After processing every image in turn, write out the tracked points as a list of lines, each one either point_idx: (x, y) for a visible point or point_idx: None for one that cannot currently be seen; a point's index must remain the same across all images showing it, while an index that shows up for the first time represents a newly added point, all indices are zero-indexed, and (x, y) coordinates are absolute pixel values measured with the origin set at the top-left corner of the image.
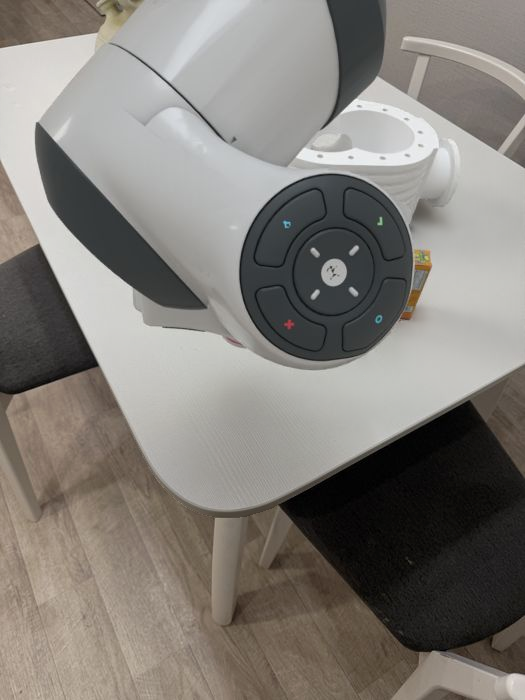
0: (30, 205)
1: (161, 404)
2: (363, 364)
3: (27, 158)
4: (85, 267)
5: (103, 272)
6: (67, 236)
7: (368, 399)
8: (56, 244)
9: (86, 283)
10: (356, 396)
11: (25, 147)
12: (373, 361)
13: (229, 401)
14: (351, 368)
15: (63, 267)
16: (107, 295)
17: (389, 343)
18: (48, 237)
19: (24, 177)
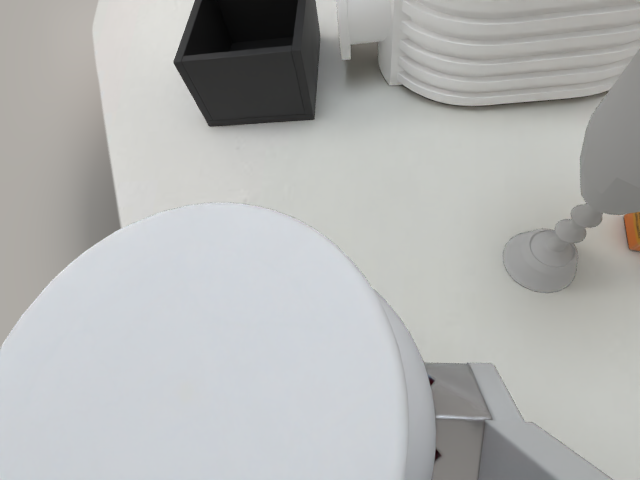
0: (102, 87)
1: None
2: (582, 362)
3: (113, 26)
4: (146, 173)
5: (167, 180)
6: (134, 127)
7: (599, 454)
8: (119, 140)
9: (142, 199)
10: (571, 444)
11: (114, 13)
12: (604, 355)
13: None
14: (557, 371)
15: (120, 175)
16: None
17: (636, 312)
18: (112, 131)
19: (105, 51)
